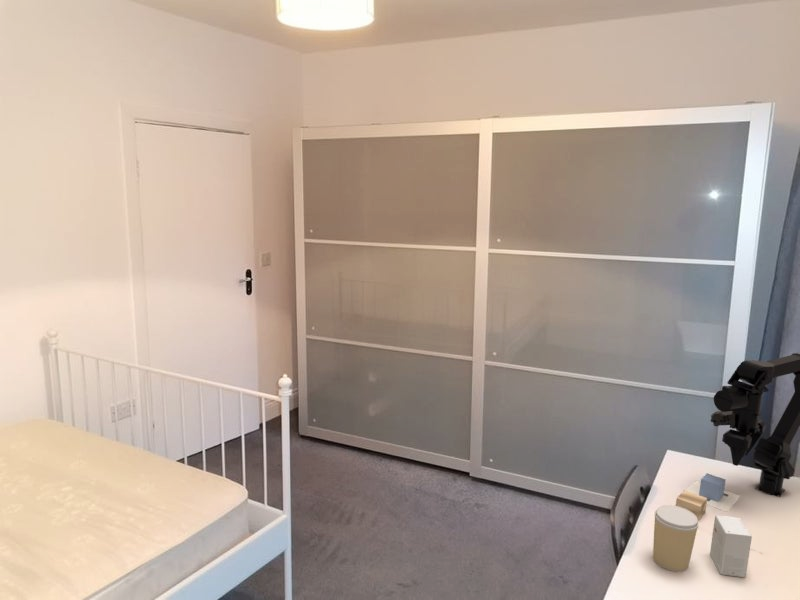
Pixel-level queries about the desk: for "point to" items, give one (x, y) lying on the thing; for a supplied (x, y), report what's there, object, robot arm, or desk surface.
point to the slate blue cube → (712, 487)
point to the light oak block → (692, 503)
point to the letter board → (722, 504)
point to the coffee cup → (674, 537)
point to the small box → (730, 546)
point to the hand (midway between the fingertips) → (740, 459)
